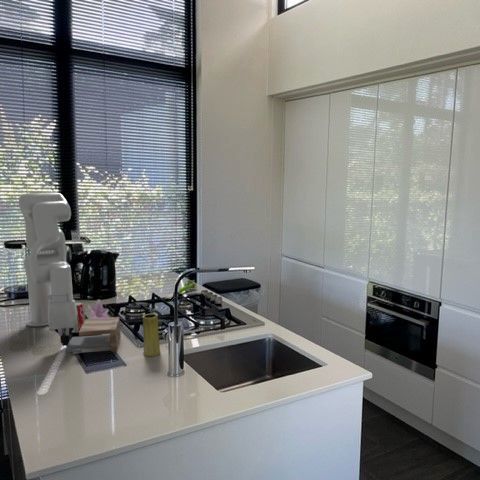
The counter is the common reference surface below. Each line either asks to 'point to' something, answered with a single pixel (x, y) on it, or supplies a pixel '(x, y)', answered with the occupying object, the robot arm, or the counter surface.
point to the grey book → (88, 342)
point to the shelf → (101, 327)
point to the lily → (98, 311)
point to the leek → (183, 288)
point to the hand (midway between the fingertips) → (65, 344)
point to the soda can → (80, 316)
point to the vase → (151, 335)
